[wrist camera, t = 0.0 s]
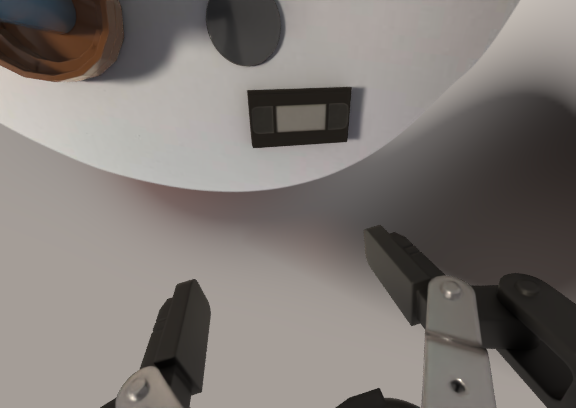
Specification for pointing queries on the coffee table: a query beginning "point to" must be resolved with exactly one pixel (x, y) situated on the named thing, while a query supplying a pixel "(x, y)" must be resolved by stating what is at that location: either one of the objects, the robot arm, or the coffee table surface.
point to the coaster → (244, 29)
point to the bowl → (66, 45)
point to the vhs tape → (299, 116)
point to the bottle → (39, 14)
